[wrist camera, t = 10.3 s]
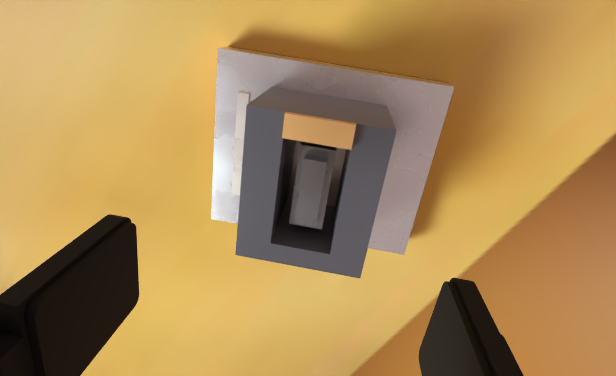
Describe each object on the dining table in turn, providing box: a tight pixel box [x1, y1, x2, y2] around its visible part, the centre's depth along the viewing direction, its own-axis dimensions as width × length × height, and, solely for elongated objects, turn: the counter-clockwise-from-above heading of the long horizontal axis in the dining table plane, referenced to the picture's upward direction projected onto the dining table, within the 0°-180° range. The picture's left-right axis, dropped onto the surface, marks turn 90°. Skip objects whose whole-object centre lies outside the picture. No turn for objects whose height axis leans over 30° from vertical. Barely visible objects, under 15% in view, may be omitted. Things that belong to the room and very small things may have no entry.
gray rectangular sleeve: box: [236, 87, 397, 278], centre depth 18 cm, size 7×6×5 cm
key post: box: [211, 47, 454, 255], centre depth 19 cm, size 10×12×6 cm
